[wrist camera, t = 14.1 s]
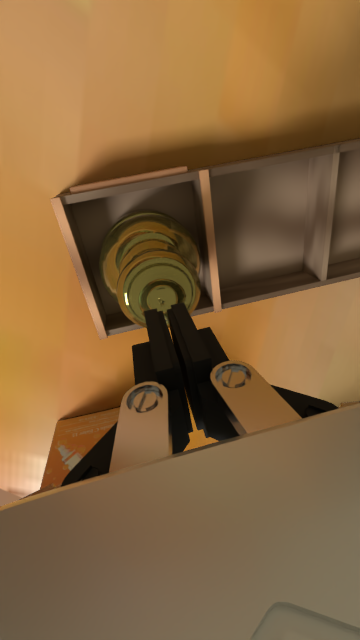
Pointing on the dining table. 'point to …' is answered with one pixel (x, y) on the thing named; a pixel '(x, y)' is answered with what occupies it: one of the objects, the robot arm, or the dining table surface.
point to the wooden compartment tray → (231, 225)
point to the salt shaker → (150, 264)
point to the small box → (75, 442)
